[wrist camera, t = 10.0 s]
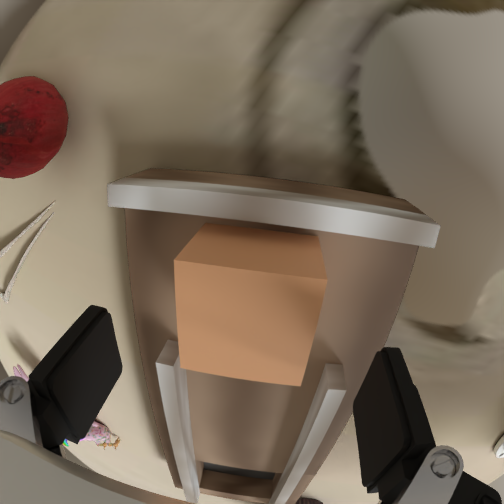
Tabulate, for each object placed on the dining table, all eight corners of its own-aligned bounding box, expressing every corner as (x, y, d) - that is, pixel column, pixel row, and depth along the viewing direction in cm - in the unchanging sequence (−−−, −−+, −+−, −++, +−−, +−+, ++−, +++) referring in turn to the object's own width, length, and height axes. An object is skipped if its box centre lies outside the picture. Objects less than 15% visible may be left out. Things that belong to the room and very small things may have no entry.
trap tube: (405, 199, 15) (445, 229, 10) (295, 485, 28) (292, 519, 24) (150, 168, 16) (101, 186, 11) (181, 467, 29) (171, 500, 25)
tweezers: (11, 301, 23) (-1, 310, 21) (-13, 263, 22) (-25, 271, 20) (110, 202, 19) (95, 209, 17) (77, 148, 18) (60, 151, 16)
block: (318, 236, 13) (327, 279, 9) (300, 328, 15) (300, 386, 11) (205, 222, 13) (173, 259, 10) (203, 315, 15) (180, 367, 12)
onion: (100, 78, 14) (-3, 69, 7) (88, 169, 16) (-10, 206, 9) (38, 81, 14) (-54, 85, 7) (30, 161, 16) (-58, 190, 9)
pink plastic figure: (132, 428, 29) (31, 348, 23) (120, 470, 24) (6, 393, 18) (103, 430, 31) (14, 359, 25) (91, 467, 26) (-8, 397, 20)
